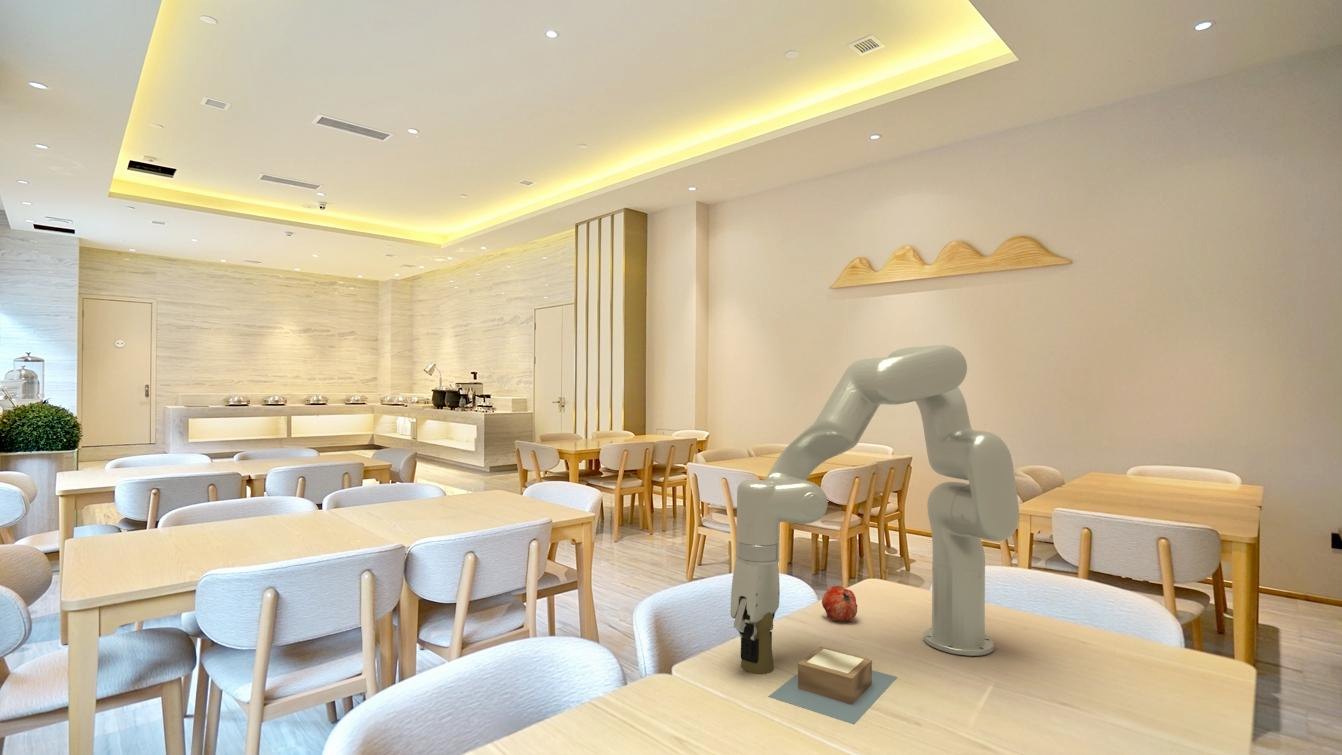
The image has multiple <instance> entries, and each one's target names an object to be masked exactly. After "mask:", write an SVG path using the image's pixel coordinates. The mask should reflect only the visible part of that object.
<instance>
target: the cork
mask: <svg viewBox="0 0 1342 755" xmlns="http://www.w3.org/2000/svg"><path fill="white" fill-rule="evenodd" d="M746 618H747V619H750V616H747V615H746ZM772 624H773V625H774V619H773V617H772V614H771V612H769V613H767V614H766V615H765V616H764V617H763V619H762V620H760V621H758V624H757V637H756V639H759V656H758V662H757V663H752V662H748V661H745V660H742V659H741V662H740V667H741V668H740V669H742V671H744V672H746V673H750V674H755V675H764V674H765V675H766V674H769V673H772V672H774V670H775V663H774V655H773V644H772V645H771V637H770V631H771V630H770V628H771V626H772ZM746 626H749V627H750V629H752V624H748V623H746Z"/></svg>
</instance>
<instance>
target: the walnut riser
mask: <svg viewBox="0 0 1342 755" xmlns="http://www.w3.org/2000/svg"><path fill="white" fill-rule="evenodd" d="M872 670H873V659H869V658H867V657H862V656H858V655H854V654H850V653H846V652H844V651H839V650H835V649H831V648H826V647H824V646H820V647H818V648H817V649H815V650H814V651H813V652H812V653H810V654H809V655H808V656H806V657H805V658H803V659H802V660H801V661H800V662H798V663H797V674H798V689H801V690H804V691H808V692H811V693H814V694H818V695H821V696H824V697H827V698H831V699H834V700H837V701H841V702H844V703H847V704H850V705H852V704H853V703H854V702H855V701H856V700H857V699H858V698H859V697H860V696H861V695H862V694H863V693H864V692H865V691H866V690H867V689H868V688H869V687H870V686H871V685H872Z"/></svg>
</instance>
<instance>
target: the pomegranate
mask: <svg viewBox="0 0 1342 755" xmlns="http://www.w3.org/2000/svg"><path fill="white" fill-rule="evenodd" d="M821 605H822V607H823V609H824V610H825V613H826V615H827V617H828V618H830V619H831V620H833V621H836V622H843V621H844V622H846V621H848V622H849V621H851V620H853V619H854V618H855V617H856V616H857V613H858V604H857V598H856V595H855V593H854V591H852V590H850V589H847V588H845V587H843V586H842V585H832V586H831V587H829V588H828V589H827V590H826V591H825V593H824V594H823V596H822V599H821Z"/></svg>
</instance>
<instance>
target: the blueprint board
mask: <svg viewBox="0 0 1342 755" xmlns="http://www.w3.org/2000/svg"><path fill="white" fill-rule="evenodd" d="M897 679H898V676H894V675H893V674H889V673H883V672H880V671H877V670H876V671H875V670H873V669H872V685H871V686H870V687H869V688H868V689H867V690H866V691H865V692H864V693H863V694H862V695H861V696H860V697H859V698H858V699H857V700H856V701H855V702H854V703H853V704H852V705H850V704H847V703H844V702H841V701H837V700H834V699H831V698H827V697H824V696H821V695H818V694H814V693H811V692H808V691H804V690H801V689H798V673H797V674H795V675H794V676H793V677H791V678H790V679H788V680H787V681H786V682H785V683H783V684H782V685H781V686H780V687H778V688H777V689H775V691H774V692H772V693H771V694H769V695H768V696H767V697H768V698H770V699H773V700H774V699H775V700H776V701H779V702H783V703H786V704H789V705H793V706H795V707H798V708H801V709H805V710H808V711H812V712H814V713H817V714H820V715H824V716H826V717H831V718H833V719H836V720H839V721H842V722H845V723H848V724H852V725H855V724H856V723H857V722H858V721H859V720H860V719H861V718H862V717H863V716H864V715H865V713H867V711H869V709H870V708H871V707H872V705H874V703H876V702H877V700H878V699H879V698H880V697H881V696H882V695H883V694H884V693H885V692H886V691H887V689H889V688H890V687H891V686H892V684H893V683H894V682H895V681H896V680H897Z"/></svg>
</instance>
